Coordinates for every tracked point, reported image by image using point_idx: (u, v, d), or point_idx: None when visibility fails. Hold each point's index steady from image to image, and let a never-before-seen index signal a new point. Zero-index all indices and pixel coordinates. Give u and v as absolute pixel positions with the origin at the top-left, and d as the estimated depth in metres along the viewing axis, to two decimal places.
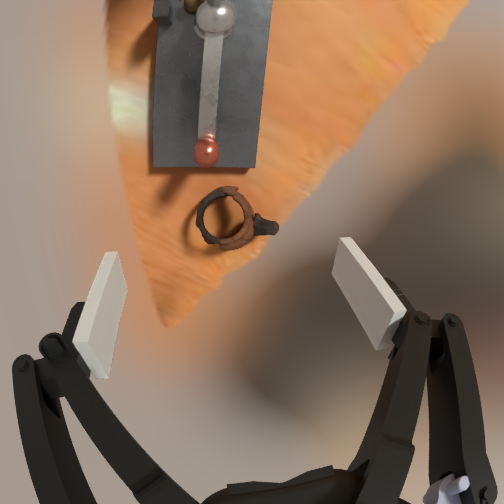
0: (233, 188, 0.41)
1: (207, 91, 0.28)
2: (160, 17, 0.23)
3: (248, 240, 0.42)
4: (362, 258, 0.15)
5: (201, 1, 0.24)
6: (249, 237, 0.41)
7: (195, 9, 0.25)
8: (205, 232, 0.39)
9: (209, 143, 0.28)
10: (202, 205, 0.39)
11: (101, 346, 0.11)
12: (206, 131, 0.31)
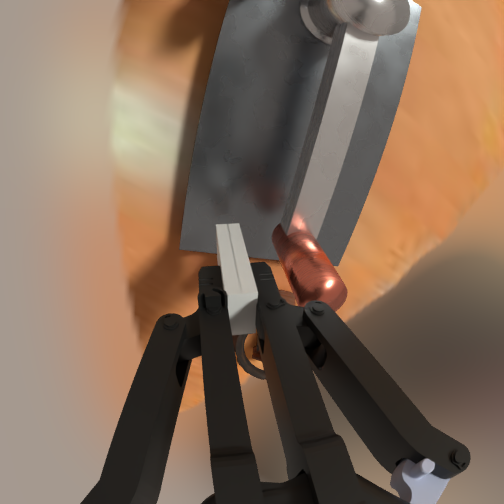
0: (291, 300, 0.27)
1: (327, 147, 0.15)
2: None
3: None
4: (238, 242, 0.16)
5: None
6: None
7: None
8: (246, 364, 0.26)
9: (334, 276, 0.14)
10: None
11: None
12: (306, 224, 0.17)
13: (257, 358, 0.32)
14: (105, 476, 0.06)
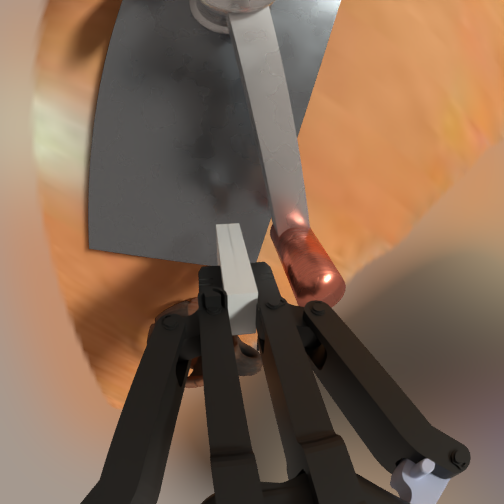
0: None
1: (274, 142, 0.14)
2: None
3: None
4: (238, 242, 0.16)
5: None
6: None
7: None
8: None
9: (322, 270, 0.14)
10: None
11: None
12: (291, 220, 0.17)
13: None
14: (105, 476, 0.06)
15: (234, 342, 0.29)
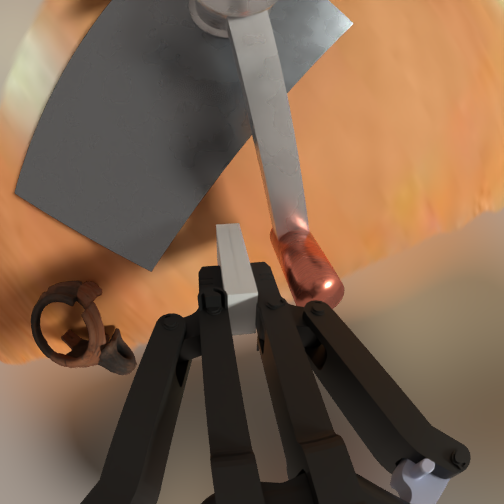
0: (92, 294, 0.24)
1: (274, 147, 0.14)
2: None
3: None
4: (238, 242, 0.16)
5: None
6: (90, 365, 0.24)
7: None
8: (36, 336, 0.20)
9: (321, 273, 0.14)
10: (42, 300, 0.21)
11: None
12: (291, 223, 0.17)
13: (64, 340, 0.26)
14: (105, 476, 0.06)
15: (113, 337, 0.26)
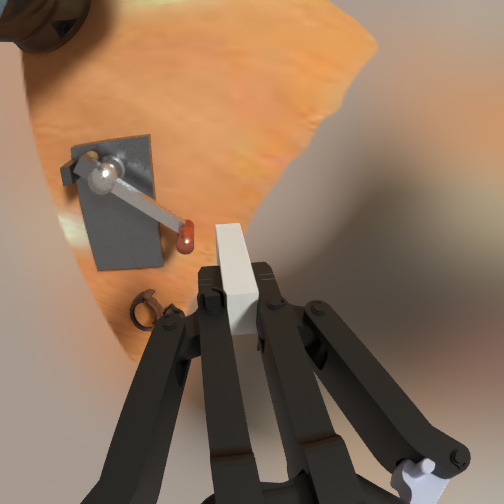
0: (150, 293, 0.58)
1: (151, 211, 0.43)
2: None
3: None
4: (238, 242, 0.16)
5: None
6: None
7: None
8: (136, 324, 0.57)
9: (179, 240, 0.42)
10: (131, 307, 0.56)
11: None
12: (176, 226, 0.45)
13: (154, 323, 0.63)
14: (105, 476, 0.06)
15: (170, 307, 0.60)
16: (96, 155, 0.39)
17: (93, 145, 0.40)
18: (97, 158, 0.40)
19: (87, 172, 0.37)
